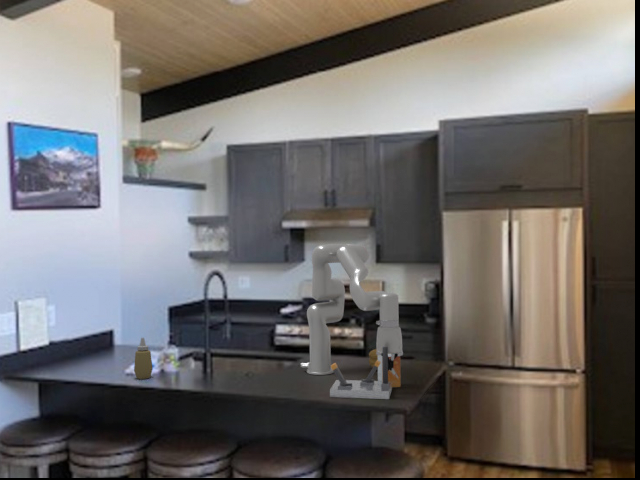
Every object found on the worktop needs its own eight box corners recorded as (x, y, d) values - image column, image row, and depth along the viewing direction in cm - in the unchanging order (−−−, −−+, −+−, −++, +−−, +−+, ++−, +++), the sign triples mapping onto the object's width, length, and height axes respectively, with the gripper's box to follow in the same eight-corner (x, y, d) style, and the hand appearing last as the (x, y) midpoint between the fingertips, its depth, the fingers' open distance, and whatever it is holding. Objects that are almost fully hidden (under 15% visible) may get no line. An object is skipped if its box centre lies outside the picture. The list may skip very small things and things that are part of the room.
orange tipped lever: (342, 386, 258) (330, 366, 258) (343, 384, 261) (331, 364, 261) (345, 384, 257) (334, 364, 258) (347, 382, 260) (335, 362, 261)
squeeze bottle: (156, 376, 296) (155, 336, 296) (144, 380, 289) (143, 340, 289) (142, 375, 300) (141, 335, 299) (130, 379, 292) (129, 338, 292)
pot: (366, 371, 301) (366, 349, 300) (371, 365, 312) (370, 344, 312) (392, 372, 298) (392, 350, 298) (395, 366, 309) (395, 345, 309)
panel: (330, 397, 257) (329, 386, 257) (336, 387, 272) (336, 377, 272) (389, 399, 252) (388, 388, 252) (392, 388, 268) (391, 378, 268)
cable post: (381, 390, 254) (380, 348, 254) (382, 388, 257) (381, 346, 257) (389, 390, 254) (388, 348, 253) (389, 388, 257) (389, 346, 257)
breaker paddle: (365, 380, 263) (376, 361, 262) (366, 378, 266) (377, 359, 265) (369, 382, 263) (380, 363, 262) (369, 381, 266) (380, 362, 265)
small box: (382, 388, 269) (382, 356, 269) (377, 384, 275) (377, 353, 275) (401, 387, 271) (400, 355, 270) (395, 383, 277) (395, 352, 277)
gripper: (369, 325, 260) (370, 371, 260) (407, 325, 257) (408, 372, 258) (371, 322, 267) (372, 367, 268) (408, 322, 265) (409, 368, 265)
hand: (389, 369), depth 263 cm, fingers closed
